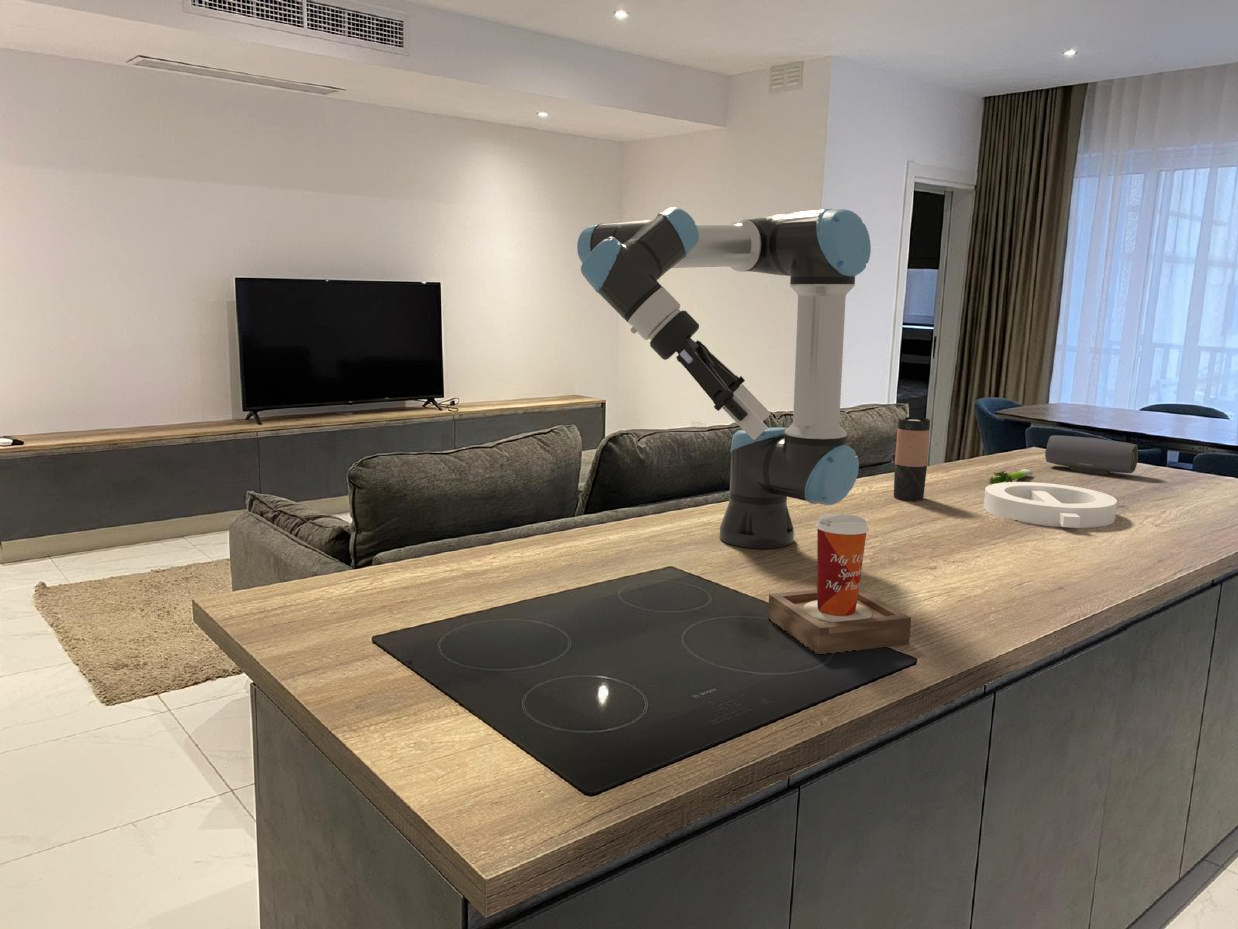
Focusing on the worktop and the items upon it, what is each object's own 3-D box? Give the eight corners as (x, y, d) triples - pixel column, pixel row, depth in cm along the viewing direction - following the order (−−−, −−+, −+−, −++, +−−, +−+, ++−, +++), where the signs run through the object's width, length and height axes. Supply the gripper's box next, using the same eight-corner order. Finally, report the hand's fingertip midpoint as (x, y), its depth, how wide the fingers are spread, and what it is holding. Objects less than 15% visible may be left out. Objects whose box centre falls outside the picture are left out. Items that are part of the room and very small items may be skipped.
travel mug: (926, 502, 221) (932, 421, 217) (893, 500, 223) (899, 420, 219) (922, 495, 229) (928, 417, 225) (891, 493, 230) (896, 416, 226)
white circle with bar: (1025, 496, 231) (1027, 477, 230) (1138, 518, 209) (1140, 498, 208) (959, 509, 216) (960, 489, 215) (1073, 535, 193) (1075, 513, 192)
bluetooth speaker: (1136, 475, 259) (1140, 441, 257) (1127, 479, 252) (1131, 444, 251) (1053, 464, 275) (1057, 432, 273) (1043, 468, 268) (1046, 435, 266)
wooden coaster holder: (767, 618, 140) (769, 594, 139) (851, 609, 144) (853, 585, 143) (818, 655, 126) (819, 628, 125) (909, 643, 130) (911, 617, 129)
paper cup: (833, 621, 130) (840, 527, 127) (799, 605, 136) (805, 515, 134) (874, 614, 133) (881, 522, 130) (839, 598, 140) (845, 510, 137)
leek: (1038, 484, 255) (1011, 493, 231) (1011, 484, 259) (983, 493, 235) (1037, 462, 255) (1010, 469, 231) (1011, 463, 259) (982, 469, 235)
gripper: (660, 337, 149) (749, 429, 149) (632, 349, 125) (739, 458, 125) (692, 305, 147) (782, 398, 147) (670, 310, 123) (779, 421, 123)
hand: (763, 426), depth 136 cm, fingers open, 13 cm apart
